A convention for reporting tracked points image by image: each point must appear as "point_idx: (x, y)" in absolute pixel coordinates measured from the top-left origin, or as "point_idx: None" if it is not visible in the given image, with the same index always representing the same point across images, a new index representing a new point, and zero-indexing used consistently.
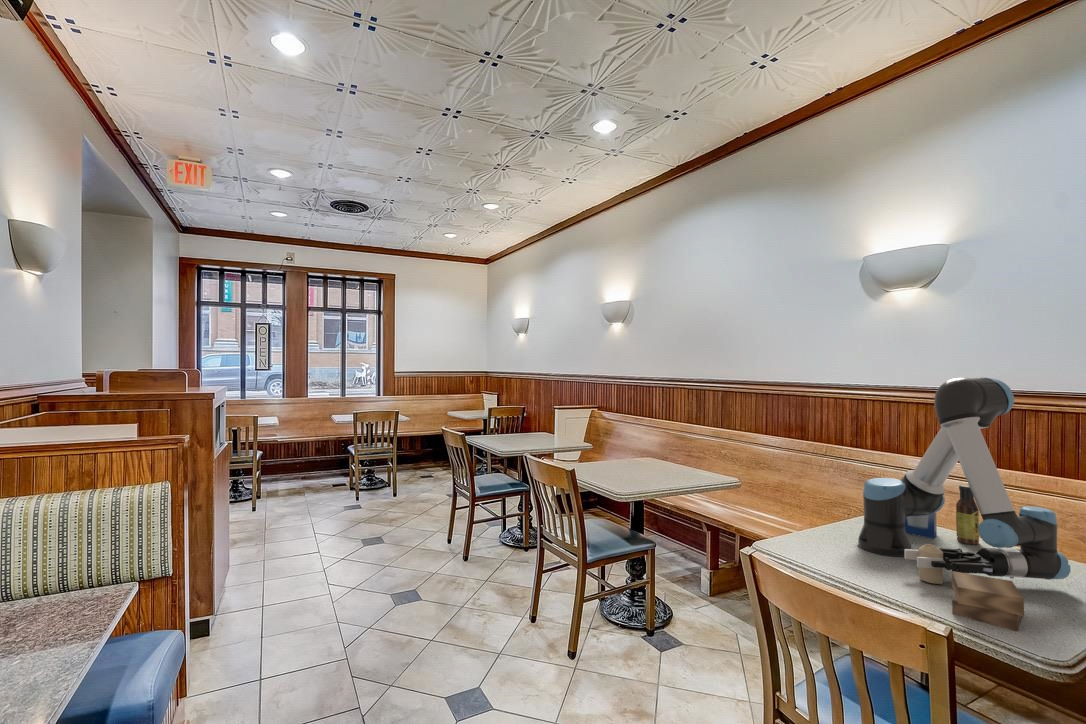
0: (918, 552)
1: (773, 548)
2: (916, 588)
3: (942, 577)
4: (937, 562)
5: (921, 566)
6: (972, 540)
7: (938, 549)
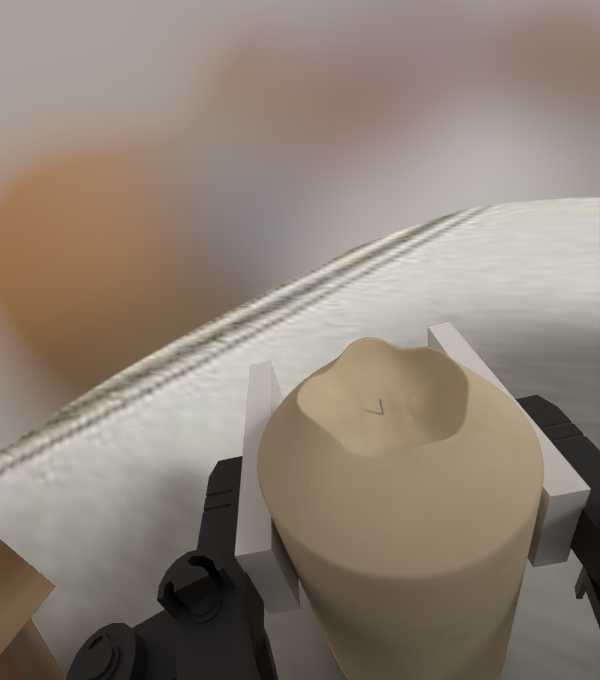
0: None
1: (508, 212)
2: None
3: (350, 676)
4: (207, 490)
5: None
6: None
7: (309, 466)
